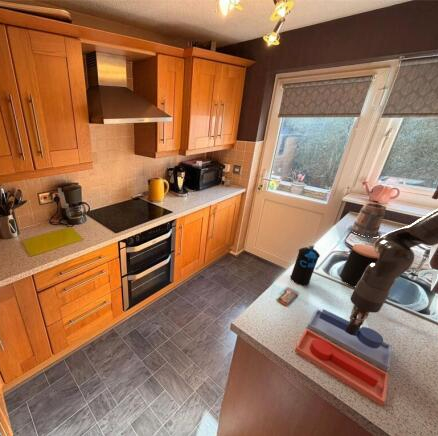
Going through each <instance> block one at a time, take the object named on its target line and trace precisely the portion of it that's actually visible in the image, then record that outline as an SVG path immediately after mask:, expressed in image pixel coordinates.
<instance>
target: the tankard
mask: <svg viewBox="0 0 438 436" xmlns="http://www.w3.org/2000/svg"><path fill="white" fill-rule="evenodd" d="M386 209H387V206H385V205H382V204H379V203H373V202H365V203H364V205H363V206H362V207H361V208H360V210H359V213H358V214H357V217H356V219H355V220H354V222H353V225H350V226H349V227H347V231H348V232H350V231H353V232H355V233H357V234H360V235H363V236H365V237H368V236H369V237H377V236H379V235H380V234H379V230H380V228H381V224H382V221H383V220H384V217H385V216H386ZM365 237H364V238H365Z"/></svg>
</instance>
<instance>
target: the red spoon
mask: <svg viewBox="0 0 438 436" xmlns="http://www.w3.org/2000/svg"><path fill="white" fill-rule="evenodd" d="M310 351H311V353H312V354H313V355H314V356H315V357H317V358H319V359H321V360H324V361H328V360H330V361H331V362H332V363H334V364H336V365H337V366H339V367H341V368H343V369H344V370H346V371H348V372H349V373H351V374H353V375H354V376H356V377H358V378H359V379H361V380H363V381H364V382H366V383H368V384H369V385H371V386H373V387H375V386H376V384H377V383H378V381H379V375H377V374H375V373H374V372H372V371H370V370H368V369H366V368H365V367H363V366H361V365H359V364H358V363H356V362H354V361H352V360H351V359H349V358H347V357H345V356H344V355H342V354H340V353H338V352H336V351H335V350H333V348H332V346H331V345H330V344H329V343H327V342H326V341H324V340H322V339H318V338H316V339H313V340H312V342H311V345H310ZM330 358H331V359H330Z"/></svg>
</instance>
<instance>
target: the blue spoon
mask: <svg viewBox="0 0 438 436" xmlns="http://www.w3.org/2000/svg"><path fill="white" fill-rule="evenodd" d="M321 311H322V312H321V315H320V317H319V318H320V319H322V320H324V321H326V322H328V323H330V324H332V325H334V326H336V327H338V328H340V329H342V330H344V331H346V329H347V327H348V323H349V321H350V320H347V319H345V318H343V317H341V316H339V315H337V314H334V313H333V312H330V311H328V310H326V309H324V308H322V309H321ZM354 336H357V338H358V340H359V341H360V342H361V343H363V344H364V345H366V346H368V347H370V348H375V349H376V348H379V347H380V345H381V344H382V342H383V341H384V338H383V336H382V335H381V333H380V332H378V331H377V330H375V329H373V328H370V327H367V326H360V328H359V330H356V331H355V333H354Z"/></svg>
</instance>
